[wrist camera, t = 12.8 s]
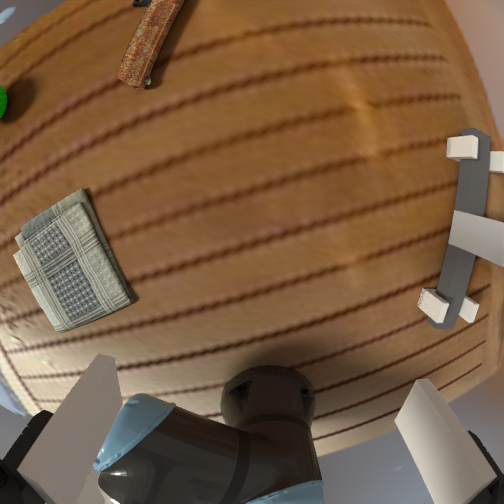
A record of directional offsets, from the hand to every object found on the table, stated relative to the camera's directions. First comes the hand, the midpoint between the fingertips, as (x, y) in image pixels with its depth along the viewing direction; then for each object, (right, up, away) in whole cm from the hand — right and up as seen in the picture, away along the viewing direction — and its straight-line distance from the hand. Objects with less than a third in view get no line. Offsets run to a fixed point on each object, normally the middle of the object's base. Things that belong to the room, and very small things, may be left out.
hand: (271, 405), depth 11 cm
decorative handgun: (-17, +42, +17) cm, 48 cm away
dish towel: (-29, +4, +27) cm, 40 cm away
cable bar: (+30, +10, +24) cm, 40 cm away
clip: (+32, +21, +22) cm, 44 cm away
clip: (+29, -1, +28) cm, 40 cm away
